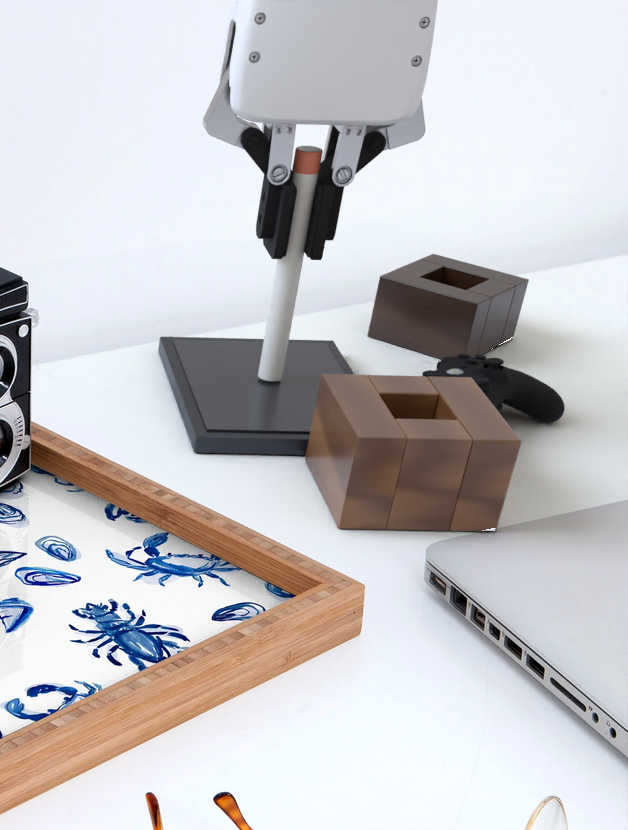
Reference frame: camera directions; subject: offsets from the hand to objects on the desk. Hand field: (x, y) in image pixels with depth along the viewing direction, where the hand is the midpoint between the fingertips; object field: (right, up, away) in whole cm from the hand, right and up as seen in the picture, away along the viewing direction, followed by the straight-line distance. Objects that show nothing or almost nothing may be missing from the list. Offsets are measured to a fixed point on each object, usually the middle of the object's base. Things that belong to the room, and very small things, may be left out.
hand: (291, 250), depth 82 cm
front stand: (+4, -15, -5) cm, 16 cm away
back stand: (+13, -1, +14) cm, 19 cm away
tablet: (0, -7, +5) cm, 9 cm away
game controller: (+11, -10, +2) cm, 15 cm away
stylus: (0, -6, +4) cm, 8 cm away
